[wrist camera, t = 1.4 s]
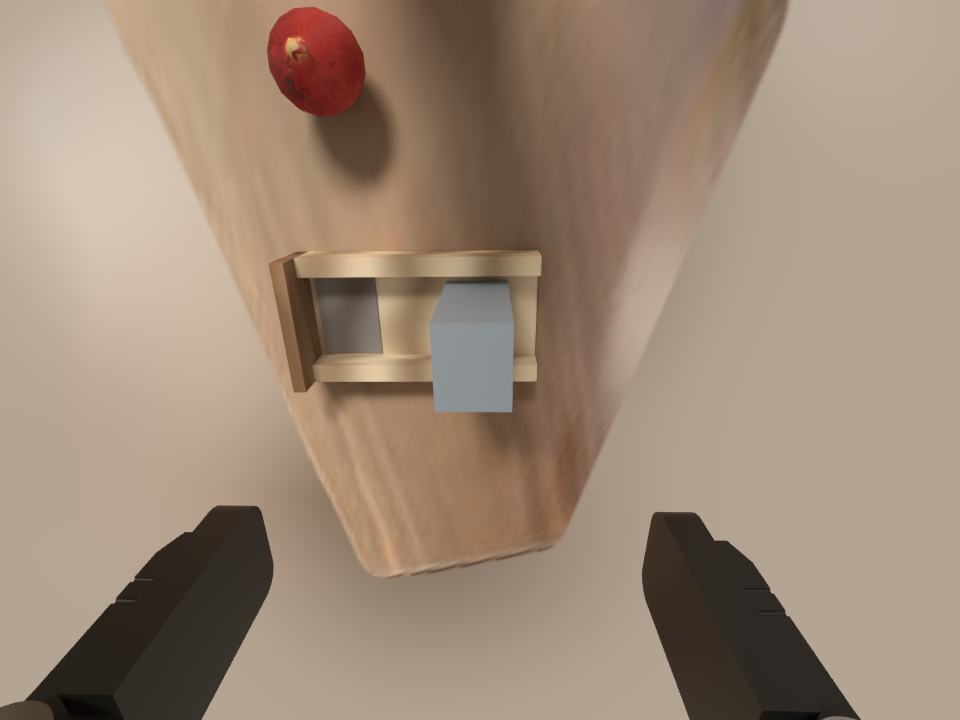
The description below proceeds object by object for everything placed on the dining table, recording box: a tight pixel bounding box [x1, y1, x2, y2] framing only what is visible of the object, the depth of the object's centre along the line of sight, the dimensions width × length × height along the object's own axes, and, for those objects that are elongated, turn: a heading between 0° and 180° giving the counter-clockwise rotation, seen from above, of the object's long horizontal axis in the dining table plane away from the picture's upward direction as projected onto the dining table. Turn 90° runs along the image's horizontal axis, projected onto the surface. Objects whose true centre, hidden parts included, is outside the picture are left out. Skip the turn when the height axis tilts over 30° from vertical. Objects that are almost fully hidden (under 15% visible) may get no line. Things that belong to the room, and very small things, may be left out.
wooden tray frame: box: [269, 250, 542, 392], centre depth 37 cm, size 20×10×5 cm, turn 91°
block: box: [429, 281, 514, 412], centre depth 33 cm, size 5×6×11 cm
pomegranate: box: [267, 7, 366, 117], centre depth 29 cm, size 6×6×8 cm
